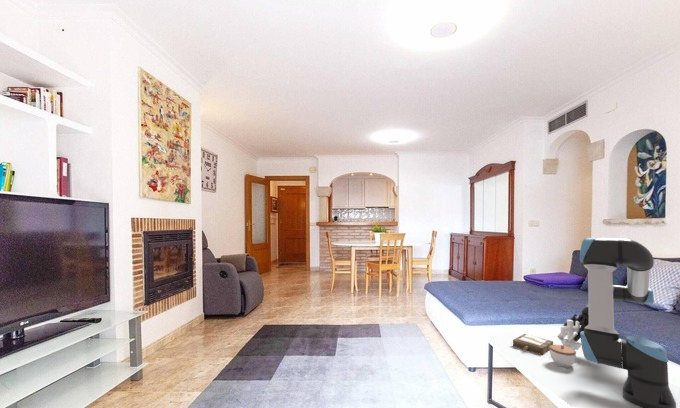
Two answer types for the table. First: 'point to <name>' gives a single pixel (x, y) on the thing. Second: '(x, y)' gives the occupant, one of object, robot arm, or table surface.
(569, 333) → the figurine
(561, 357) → the lidded jar
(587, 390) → the table surface
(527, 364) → the table surface
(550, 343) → the wooden box
